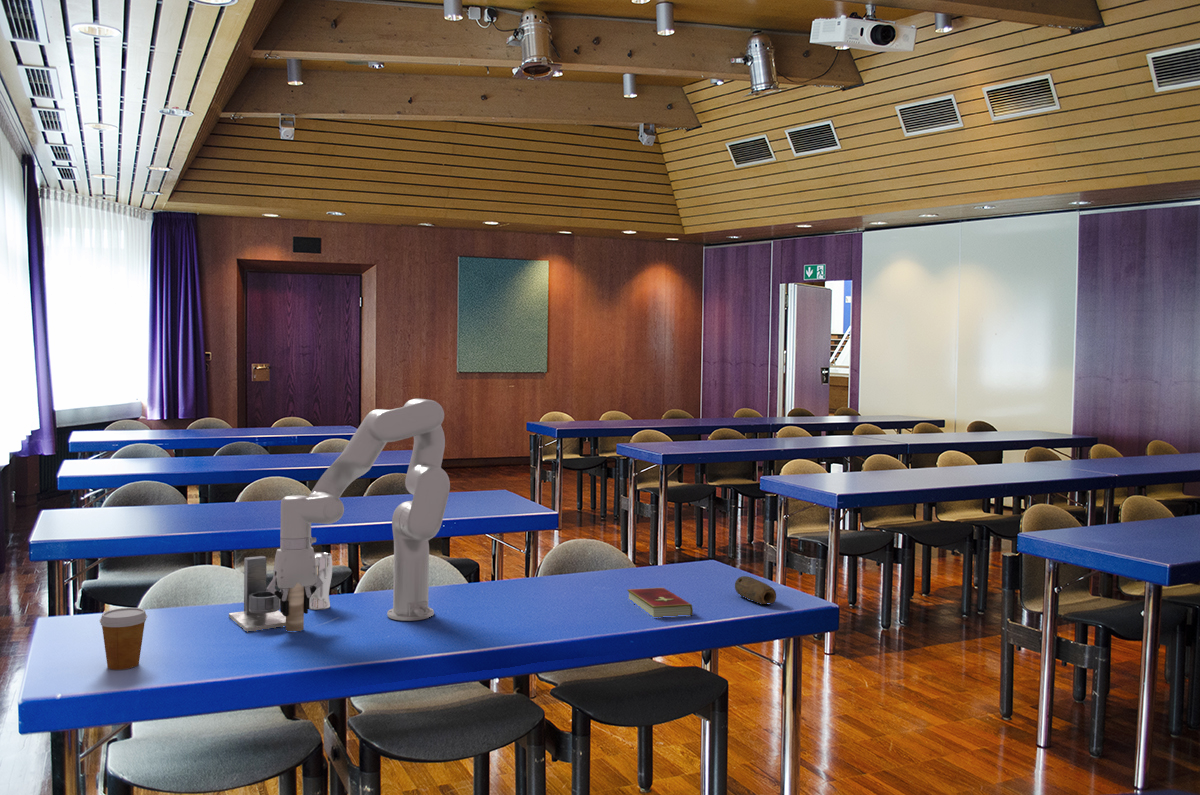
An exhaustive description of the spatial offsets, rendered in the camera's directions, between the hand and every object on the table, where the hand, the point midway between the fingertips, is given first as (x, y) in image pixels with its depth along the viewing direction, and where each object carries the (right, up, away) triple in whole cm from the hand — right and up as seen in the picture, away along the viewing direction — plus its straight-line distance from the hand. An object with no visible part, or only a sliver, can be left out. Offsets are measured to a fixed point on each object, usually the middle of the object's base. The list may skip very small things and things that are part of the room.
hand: (294, 613), depth 234 cm
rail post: (0, -4, 0) cm, 4 cm away
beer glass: (-1, -4, +23) cm, 23 cm away
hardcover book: (+96, -6, +29) cm, 101 cm away
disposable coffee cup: (-28, -5, -31) cm, 42 cm away
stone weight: (+126, -6, +40) cm, 132 cm away
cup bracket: (-12, -4, +7) cm, 14 cm away
